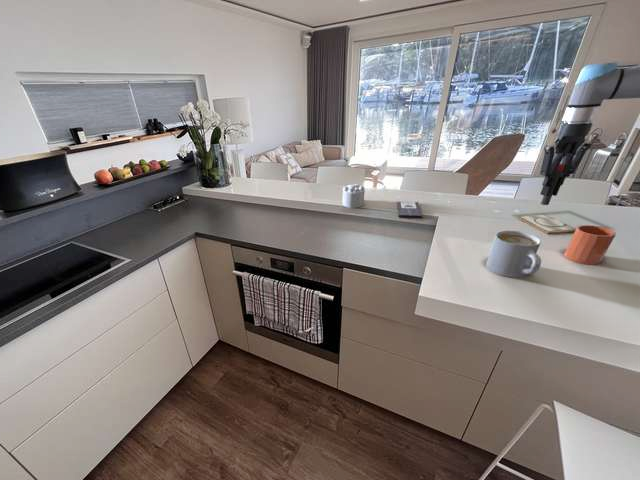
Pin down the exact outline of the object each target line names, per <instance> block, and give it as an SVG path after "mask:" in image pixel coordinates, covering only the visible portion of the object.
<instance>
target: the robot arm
mask: <svg viewBox="0 0 640 480" xmlns="http://www.w3.org/2000/svg"><path fill="white" fill-rule="evenodd" d="M618 65H619V63H618V62H617V61H613V62H612V61H611V62H603V63H593V64H587V65H585V66H584V67H583V68H581V71H580V73H579V75H578V76H577V77H578V78H577V80H576V82H575V83H574V86H573V89H572V92H571V95H570V98H569V101H568V104H567V107H566V109H565V112H564V115H563V117H562V120H561V121H562V122H561V124H560V125H559V127H558V131H557V133H556V135H557V138H555V140H554V142H553V143H552V144H550V145H544V148H543V150H544V151H543V152H544V155H543V159H542V163H541V168H540V172H539V175H541V176H544V178H543V181H542V185H541V186H542V188H541V191H540V194H539V195H541V196H548V195H549V193H550V190H551V188H552V185H553V183H554V180H555V177H553V176H554V175H555V173H556V171H557V169H558V167H559V165H560V164H565V166H564V168H563V171H562V172H561V175H560V177H559V180H558V182H557V185H556V187H555V190H554V192H553V195H552V196H554V197H556V196H557V195H558V194H559V191H560V188H561V186H563V184H564V182H565V180H566V178H569V177H570V176H571V175H573V174H575V172H576V170H577V169H578V167H579V165H580V164H581V162H582V160H583V158H584V156H585V154H586V152H587V151H589V149H590V148H591V147H592V145H593V144H592V143H590V142H587V141H586V137H587V136H588V135H589V134H590V132H591V130H592V127H593V122H594V121H595V120H596V118H597V116H598V113H599V110H600V109H601V106H602V103H603V101H605V100H609V101H610V100H623V99H625V100H626V99H640V64H638V65H635V66H633V67H628V68H624V69H623V68H622V69H621V68H620V69H618Z"/></svg>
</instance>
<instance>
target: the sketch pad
mask: <svg viewBox="0 0 640 480" xmlns="http://www.w3.org/2000/svg"><path fill="white" fill-rule="evenodd" d="M515 218H516V219H517V220H520V221H522V222H523V223H526V224H527V225H529V226H531V227H533V228H535V229H536V230H539V231H540V232H542V233H544V234H546V235H552V234H567V233H568V234H569V233H575V230H576V228H577V227H573V226H571V225H569V224H567V223H565V222H563V221H562V220H559V219H556V218H553V217H551V216H549V215H548V214H544V213H543V214H527V215H526V214H525V215H516V216H515Z"/></svg>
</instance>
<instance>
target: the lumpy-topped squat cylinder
mask: <svg viewBox="0 0 640 480" xmlns="http://www.w3.org/2000/svg"><path fill="white" fill-rule="evenodd" d="M365 191H366V189H365V187H364V186H363V185H360V184H357V183H356V184H355V183H354V184H348V185H345V186H344V187H342V206H344V207H346V208H350V209H357V208H360V207H362V206H364V204H365Z"/></svg>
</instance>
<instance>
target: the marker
mask: <svg viewBox="0 0 640 480" xmlns="http://www.w3.org/2000/svg"><path fill="white" fill-rule="evenodd" d="M564 166H565V164H562V163H560V165H559V167H558V169H557V171H556V173H555V175H554V176H553V177H555V180H554V183H553V185H552V188H551V190H550V193H549V195H548V196H544V195H542V199H541V201H540V205H543V206H549V204H550V202H551V200H552V197H553V196H554V195H553V192H554V190H555V187H556V185H557V182H558V180H559V177H560V175H561V172H562V171H563V168H564Z"/></svg>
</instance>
